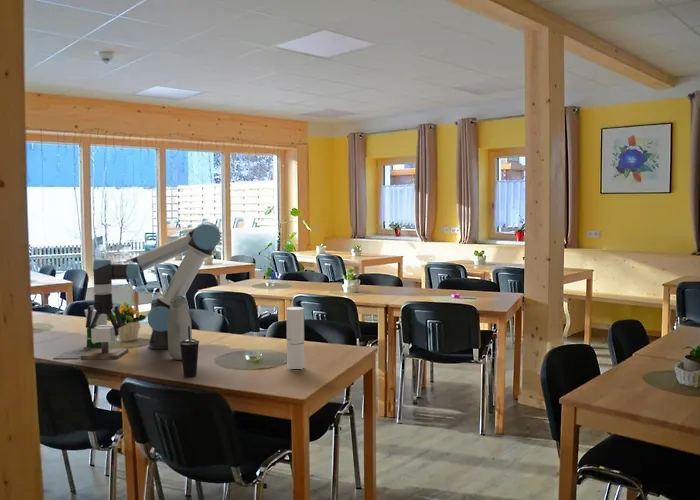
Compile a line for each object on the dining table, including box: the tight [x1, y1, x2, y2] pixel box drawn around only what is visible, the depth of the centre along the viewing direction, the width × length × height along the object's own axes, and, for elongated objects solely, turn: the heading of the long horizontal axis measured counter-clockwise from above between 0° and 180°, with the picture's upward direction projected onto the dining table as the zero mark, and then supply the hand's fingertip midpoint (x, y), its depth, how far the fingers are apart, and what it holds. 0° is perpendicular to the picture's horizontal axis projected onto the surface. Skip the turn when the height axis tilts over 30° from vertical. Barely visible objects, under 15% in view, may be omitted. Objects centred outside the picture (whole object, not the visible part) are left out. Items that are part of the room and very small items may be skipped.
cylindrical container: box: [285, 306, 305, 370], centre depth 262 cm, size 7×7×25 cm
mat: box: [52, 351, 88, 360], centre depth 285 cm, size 11×11×1 cm
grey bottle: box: [167, 296, 193, 361], centre depth 278 cm, size 10×10×28 cm
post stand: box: [80, 342, 129, 360], centre depth 286 cm, size 16×14×12 cm
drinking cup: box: [179, 326, 200, 379], centre depth 251 cm, size 8×8×20 cm
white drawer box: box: [91, 324, 114, 343], centre depth 286 cm, size 8×8×6 cm
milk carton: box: [84, 308, 109, 349], centre depth 305 cm, size 9×9×20 cm
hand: (104, 343), depth 286 cm, fingers closed on white drawer box, 8 cm apart
